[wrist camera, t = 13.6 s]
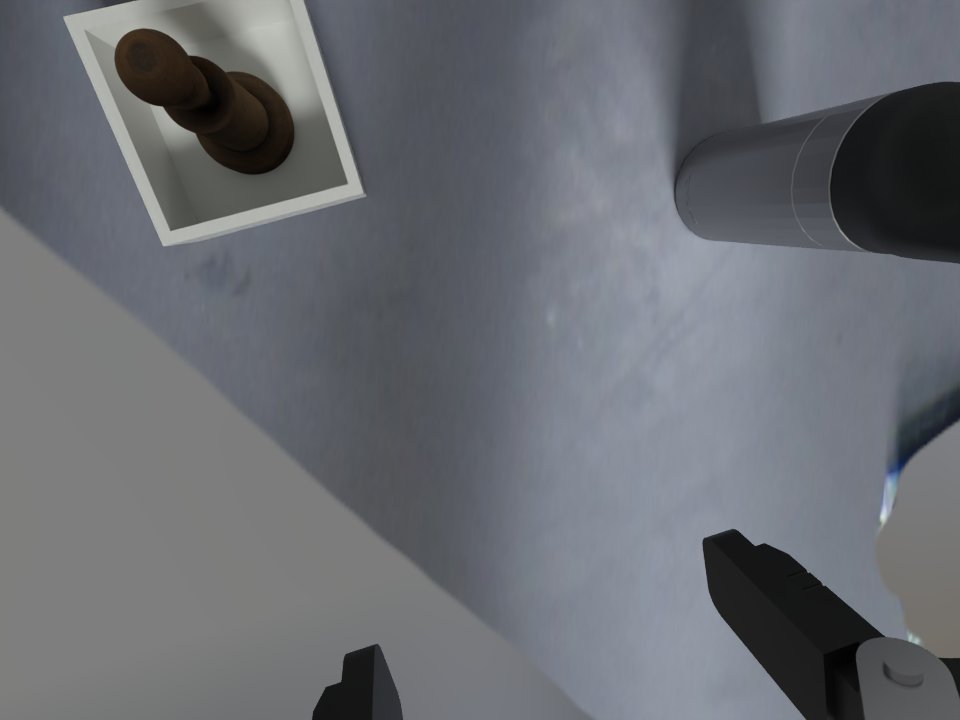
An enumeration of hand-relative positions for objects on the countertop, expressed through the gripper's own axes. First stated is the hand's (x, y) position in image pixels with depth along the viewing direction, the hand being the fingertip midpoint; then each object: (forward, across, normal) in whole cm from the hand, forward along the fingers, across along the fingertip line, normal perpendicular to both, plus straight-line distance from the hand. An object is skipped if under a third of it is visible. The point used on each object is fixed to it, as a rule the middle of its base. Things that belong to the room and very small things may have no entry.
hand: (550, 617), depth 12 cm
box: (+36, +9, -18) cm, 41 cm away
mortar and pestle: (+35, +9, -18) cm, 40 cm away
